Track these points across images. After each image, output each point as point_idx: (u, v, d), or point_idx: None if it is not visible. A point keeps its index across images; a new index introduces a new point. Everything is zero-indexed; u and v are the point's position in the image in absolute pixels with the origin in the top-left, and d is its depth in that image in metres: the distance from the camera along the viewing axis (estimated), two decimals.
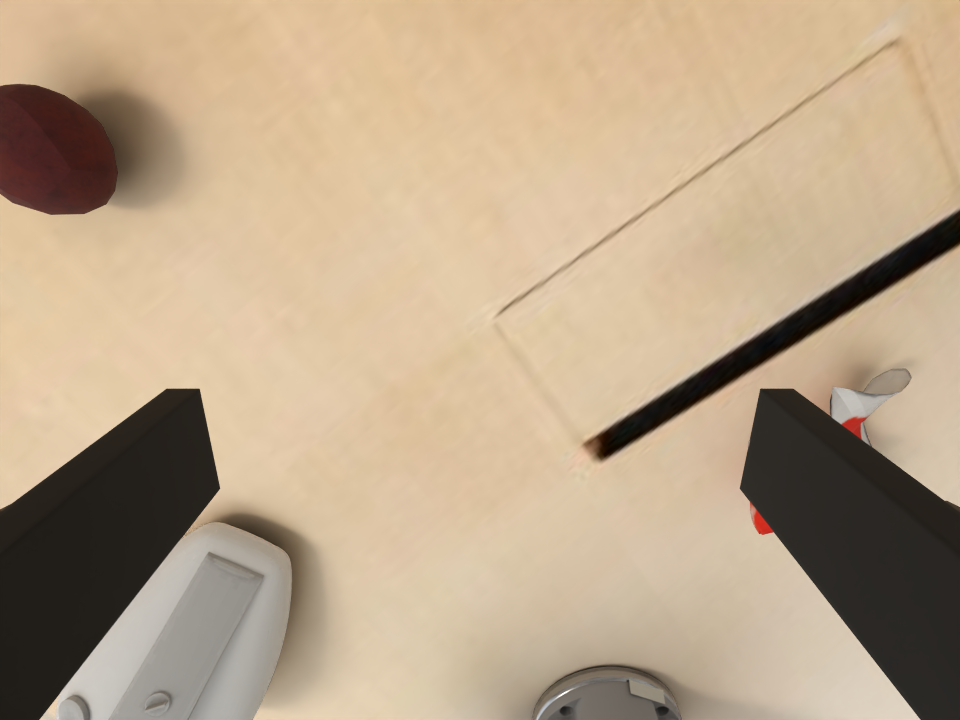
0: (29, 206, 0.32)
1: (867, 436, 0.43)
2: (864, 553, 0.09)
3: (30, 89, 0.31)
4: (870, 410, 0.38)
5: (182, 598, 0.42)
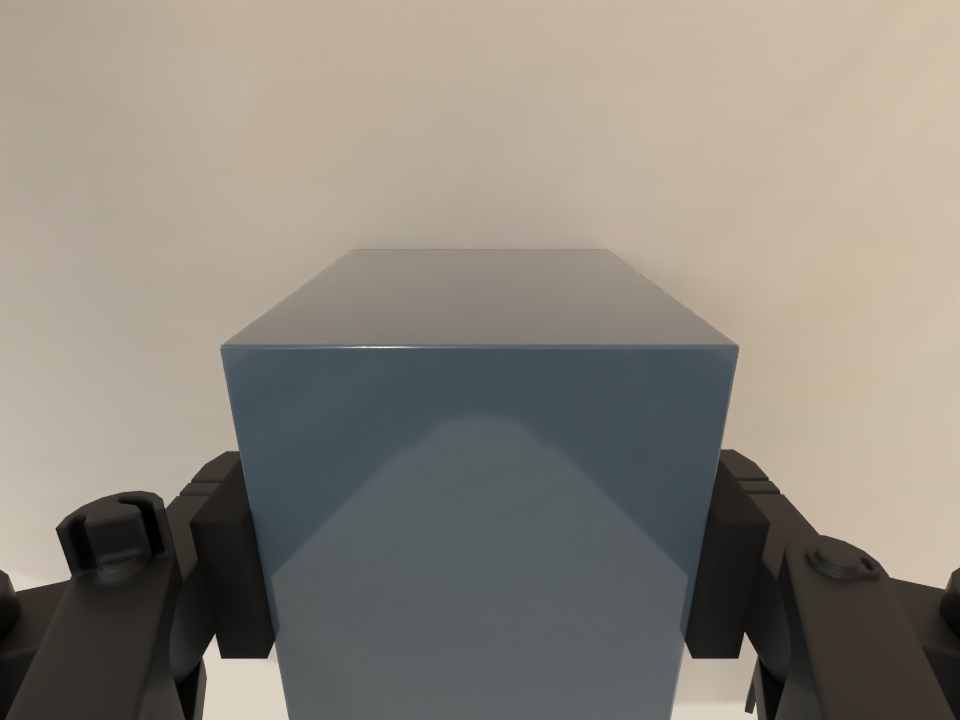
0: None
1: None
2: None
3: None
4: None
5: None
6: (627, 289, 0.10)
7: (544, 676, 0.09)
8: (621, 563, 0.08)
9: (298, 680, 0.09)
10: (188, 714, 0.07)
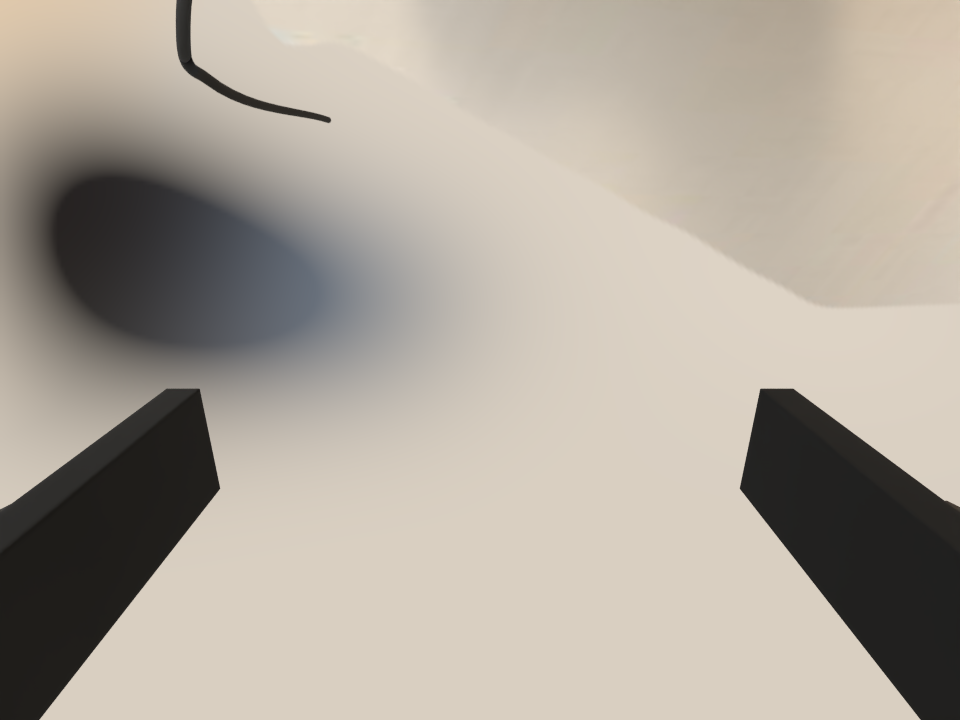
0: None
1: None
2: (864, 553, 0.09)
3: None
4: None
5: None
6: None
7: None
8: None
9: None
10: None
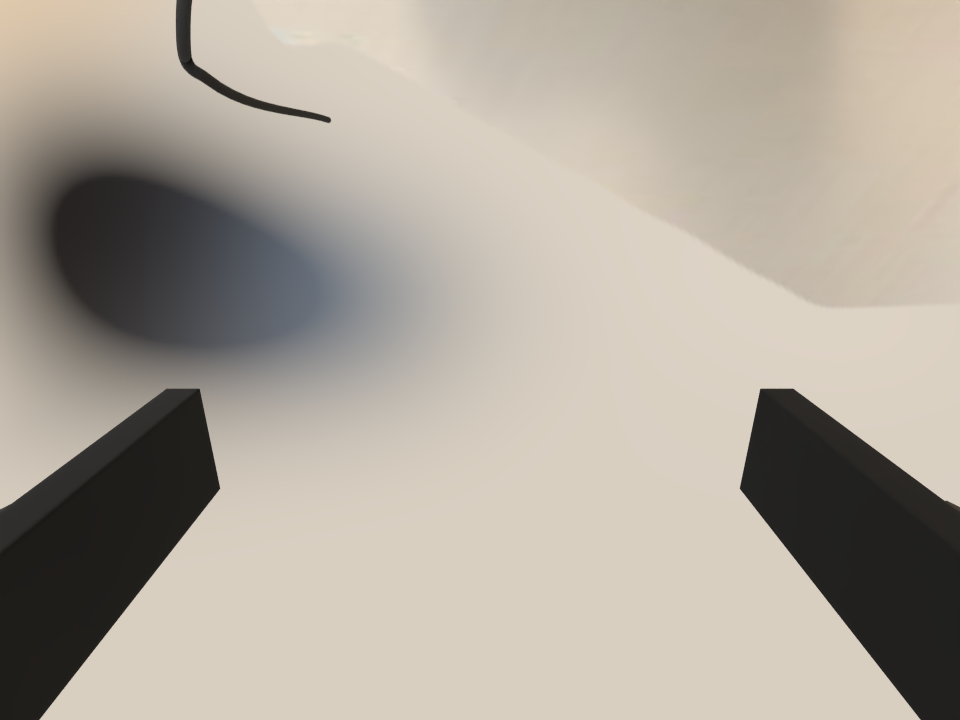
0: None
1: None
2: (864, 553, 0.09)
3: None
4: None
5: None
6: None
7: None
8: None
9: None
10: None
